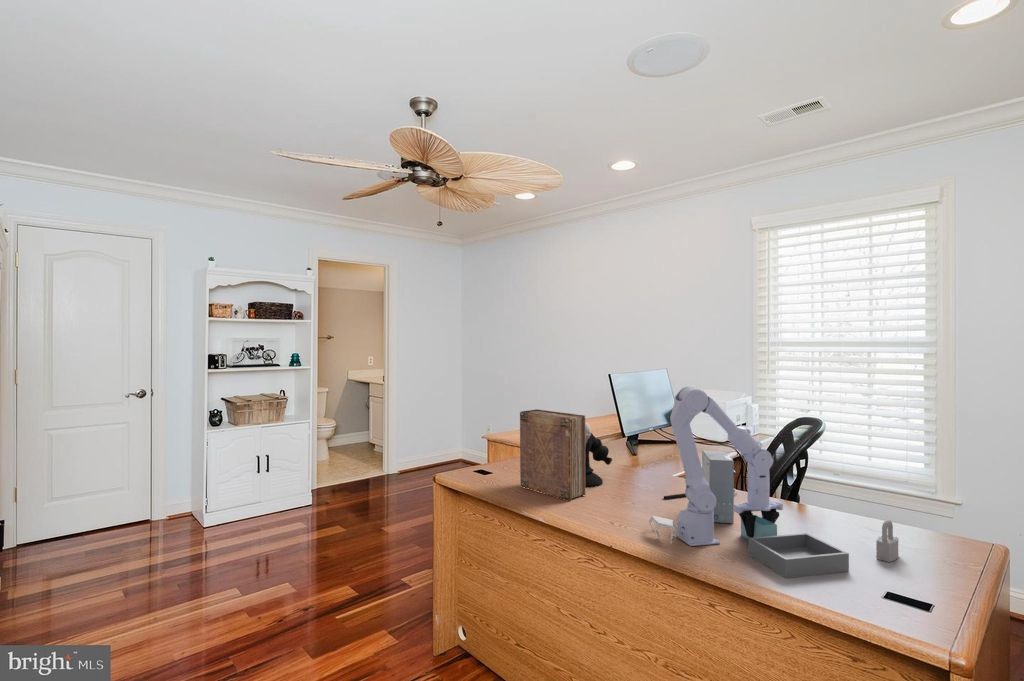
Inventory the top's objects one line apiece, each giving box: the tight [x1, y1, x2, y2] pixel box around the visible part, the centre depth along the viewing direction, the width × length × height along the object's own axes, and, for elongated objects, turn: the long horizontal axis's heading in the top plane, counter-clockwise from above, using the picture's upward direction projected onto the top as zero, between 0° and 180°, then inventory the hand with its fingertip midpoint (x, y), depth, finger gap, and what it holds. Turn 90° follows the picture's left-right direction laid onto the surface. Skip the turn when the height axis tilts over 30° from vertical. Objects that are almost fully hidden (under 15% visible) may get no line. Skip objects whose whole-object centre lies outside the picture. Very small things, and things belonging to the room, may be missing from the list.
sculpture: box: [585, 421, 613, 488], centre depth 214 cm, size 15×24×25 cm, turn 130°
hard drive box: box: [701, 450, 735, 524], centre depth 171 cm, size 16×8×20 cm, turn 168°
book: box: [519, 409, 586, 502], centre depth 198 cm, size 25×9×30 cm, turn 44°
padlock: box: [875, 519, 899, 563], centre depth 138 cm, size 7×4×10 cm, turn 127°
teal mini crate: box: [740, 513, 778, 541], centre depth 149 cm, size 5×9×6 cm, turn 11°
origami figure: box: [649, 515, 678, 545], centre depth 153 cm, size 12×8×5 cm
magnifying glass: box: [663, 488, 738, 501], centre depth 194 cm, size 13×31×2 cm, turn 110°
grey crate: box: [748, 532, 850, 579], centre depth 135 cm, size 18×14×4 cm
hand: (758, 535), depth 149 cm, fingers closed on teal mini crate, 5 cm apart
